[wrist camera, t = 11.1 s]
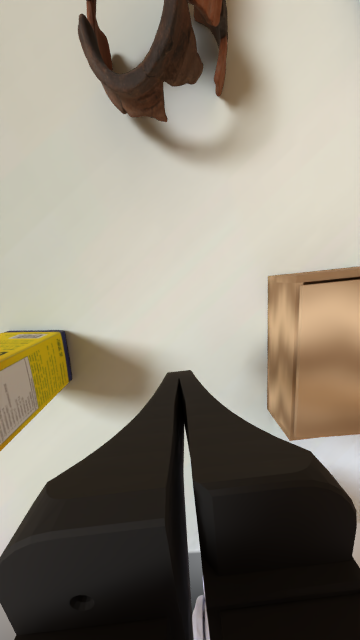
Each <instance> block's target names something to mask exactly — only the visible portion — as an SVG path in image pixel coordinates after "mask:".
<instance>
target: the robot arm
mask: <svg viewBox="0 0 360 640" xmlns="http://www.w3.org/2000/svg"><path fill="white" fill-rule="evenodd" d="M184 424H185V430H186V435H187V441H188V446H189V452H190V457H191V467H192V479H193V488H194V497H195V506H196V515H197V524H198V533H199V542H200V551H201V560H202V570H203V586H204V595H200V596H199V597H198V598H197V601H196V606H195V609H194V611H193V615H192V608H191V593H190V578H189V562H188V546H187V530H186V514H185V497H184V477H183V463H184ZM356 525H357V522H356V509H355V507H354V504H353V502H352V500H351V498H350V497H349V496H348V495H347V493H346V492H345V491H344V490H343V488H342V487H341V486H340V485H339V483H338V482H337V481H336V480H335V478H334V477H333V476H332V475H331V474H330V472H329V471H328V470H327V469H326V468H325V467H324V466H323V465H322V463H321V462H320V461H319V460H318V459H317V458H316V457H315V456H314V455H313V454H312V452H311V451H308V450H306V449H304V448H301V447H299V446H296V445H294V444H292V443H289V442H287V441H284V440H282V439H280V438H277V437H275V436H273V435H271V434H269V433H267V432H265V431H263V430H261V429H259V428H257V427H256V426H254V425H252V424H250V423H248V422H247V421H245V420H244V419H242V418H240V417H239V416H237V415H236V414H234V413H233V412H231V411H230V410H228V409H227V408H226V407H225V406H223V405H222V404H221V403H220V402H219V401H217V400H216V399H215V398H214V397H213V396H212V395H211V394H210V393H209V392H208V391H207V390H206V389H205V388H204V387H203V386H202V384H201V383H200V382H199V381H198V380H197V378H196V377H195V375H194V374H193V372H192V371H191V370H188V371H178V372H169V373H167V374H166V376H165V378H164V379H163V381H162V383H161V384H160V386H159V388H158V389H157V391H156V392H155V394H154V395H153V396H152V398H151V399H150V400H149V402H148V403H147V404H146V405H145V407H144V408H143V409H142V410H141V411H140V412H139V414H138V415H137V416H136V417H135V418H134V419H133V420H132V421H131V422H130V423H129V424H128V425H126V426H125V427H124V428H123V429H122V430H121V431H120V432H118V433H117V434H116V435H115V436H114V437H113V438H112V439H110V440H109V441H108V442H106V443H105V444H104V445H103V446H101V447H100V448H99V449H97V450H96V451H94V452H93V453H92V454H90V455H89V456H87V457H86V458H85V459H83V460H82V461H80V462H79V463H77V464H75V465H74V466H72V467H71V468H69V469H68V470H66V471H65V472H63V473H61V474H60V475H58V476H57V477H55V478H54V479H52V480H50V481H49V482H47V484H46V485H45V487H44V488H43V490H42V491H41V493H40V494H39V496H38V497H37V498H36V500H35V501H34V503H33V505H32V506H31V508H30V510H29V511H28V513H27V514H26V516H25V518H24V519H23V521H22V523H21V524H20V526H19V527H18V529H17V531H16V532H15V534H14V536H13V537H12V539H11V540H10V542H9V544H8V545H7V547H6V549H5V550H4V552H3V553H2V555H1V557H0V603H1V605H2V607H3V609H4V611H5V613H6V615H7V617H8V619H9V621H10V623H11V625H12V627H13V629H14V631H15V633H16V637H15V639H14V640H360V568H359V566H358V565H357V563H356V562H355V560H354V558H353V557H352V552H353V546H354V540H355V534H356Z"/></svg>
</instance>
